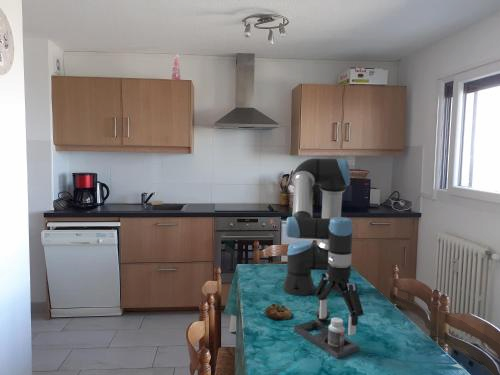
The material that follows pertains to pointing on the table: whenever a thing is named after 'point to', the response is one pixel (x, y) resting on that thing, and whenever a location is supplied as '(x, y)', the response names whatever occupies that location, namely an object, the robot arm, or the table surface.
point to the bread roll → (278, 312)
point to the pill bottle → (336, 333)
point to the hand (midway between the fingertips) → (336, 325)
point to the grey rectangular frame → (325, 339)
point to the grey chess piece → (323, 320)
